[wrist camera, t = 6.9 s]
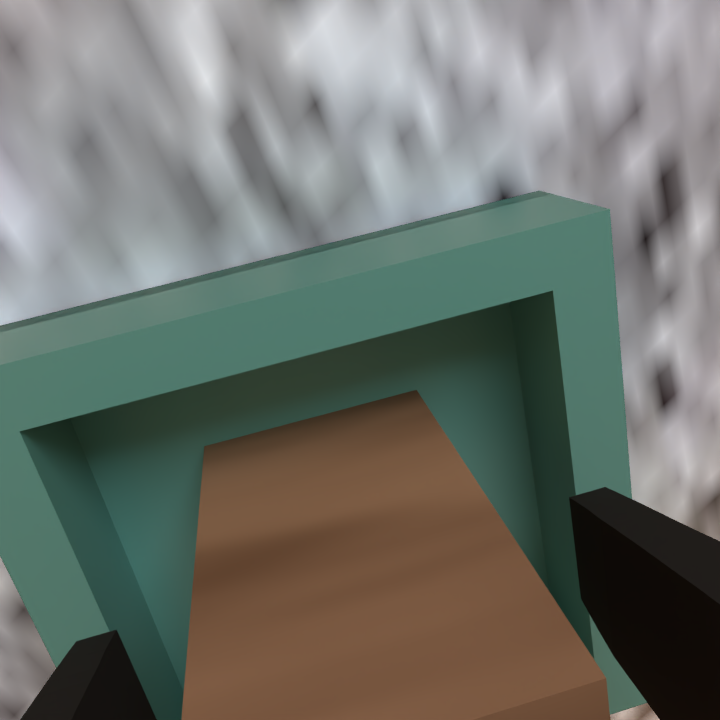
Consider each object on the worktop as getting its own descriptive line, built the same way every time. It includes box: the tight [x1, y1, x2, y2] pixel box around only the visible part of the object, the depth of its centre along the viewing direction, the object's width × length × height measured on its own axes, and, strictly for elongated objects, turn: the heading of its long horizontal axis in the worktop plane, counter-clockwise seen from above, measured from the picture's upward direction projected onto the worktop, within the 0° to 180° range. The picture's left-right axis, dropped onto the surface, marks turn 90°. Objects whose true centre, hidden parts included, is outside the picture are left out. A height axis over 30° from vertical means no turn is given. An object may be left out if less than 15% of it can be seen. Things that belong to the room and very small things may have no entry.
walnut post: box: [181, 390, 610, 720], centre depth 10 cm, size 4×4×7 cm
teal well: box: [0, 191, 647, 720], centre depth 13 cm, size 10×10×2 cm
